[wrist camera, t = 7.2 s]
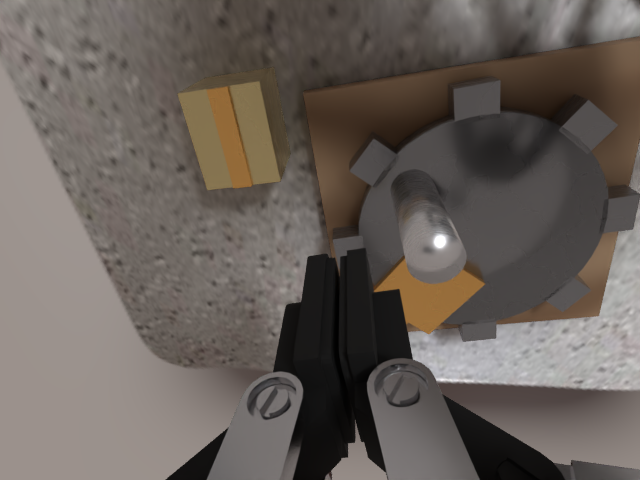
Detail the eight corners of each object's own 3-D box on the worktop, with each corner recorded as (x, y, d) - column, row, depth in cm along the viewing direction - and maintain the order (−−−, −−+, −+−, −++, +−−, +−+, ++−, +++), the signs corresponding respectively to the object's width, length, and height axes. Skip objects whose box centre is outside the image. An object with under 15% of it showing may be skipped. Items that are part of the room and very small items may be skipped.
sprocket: (283, 250, 27) (260, 344, 20) (467, 2, 19) (541, 6, 12) (474, 360, 31) (514, 471, 24) (688, 191, 24) (842, 279, 16)
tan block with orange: (205, 77, 23) (175, 94, 19) (274, 66, 23) (258, 81, 19) (228, 161, 26) (206, 191, 22) (290, 153, 25) (280, 183, 21)
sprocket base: (304, 90, 23) (302, 95, 22) (650, 34, 21) (667, 36, 20) (345, 327, 32) (345, 339, 31) (591, 306, 30) (600, 318, 29)
